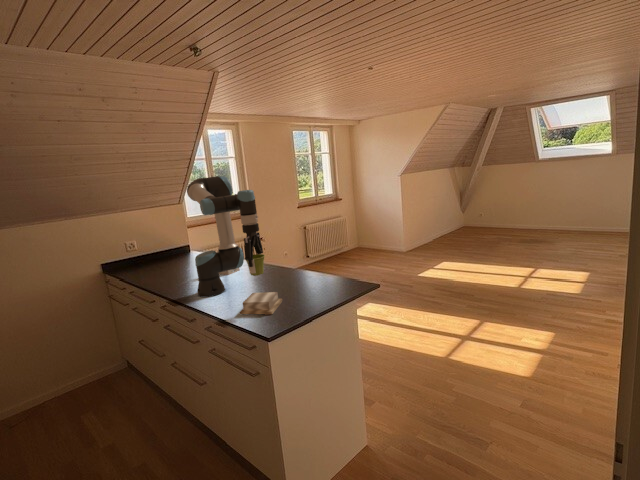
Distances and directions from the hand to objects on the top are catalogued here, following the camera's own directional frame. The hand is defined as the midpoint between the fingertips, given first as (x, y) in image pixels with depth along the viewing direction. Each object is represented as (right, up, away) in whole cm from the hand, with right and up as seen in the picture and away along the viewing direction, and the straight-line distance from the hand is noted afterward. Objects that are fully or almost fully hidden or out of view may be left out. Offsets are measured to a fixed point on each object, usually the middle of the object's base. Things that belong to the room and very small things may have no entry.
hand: (256, 269), depth 173 cm
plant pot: (0, -2, 0) cm, 2 cm away
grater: (-32, -8, +76) cm, 83 cm away
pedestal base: (+2, -19, +4) cm, 19 cm away
